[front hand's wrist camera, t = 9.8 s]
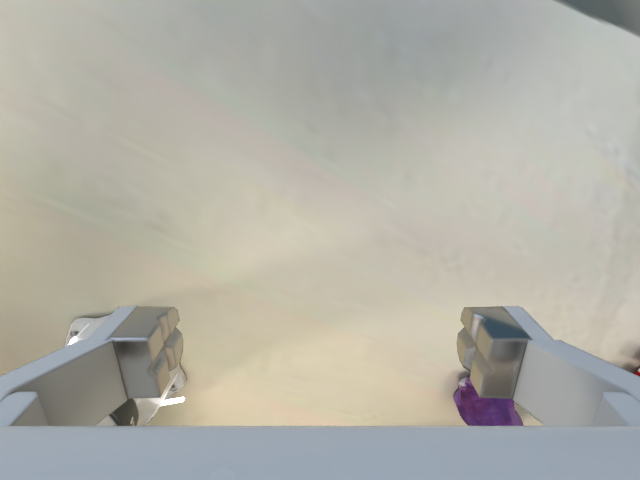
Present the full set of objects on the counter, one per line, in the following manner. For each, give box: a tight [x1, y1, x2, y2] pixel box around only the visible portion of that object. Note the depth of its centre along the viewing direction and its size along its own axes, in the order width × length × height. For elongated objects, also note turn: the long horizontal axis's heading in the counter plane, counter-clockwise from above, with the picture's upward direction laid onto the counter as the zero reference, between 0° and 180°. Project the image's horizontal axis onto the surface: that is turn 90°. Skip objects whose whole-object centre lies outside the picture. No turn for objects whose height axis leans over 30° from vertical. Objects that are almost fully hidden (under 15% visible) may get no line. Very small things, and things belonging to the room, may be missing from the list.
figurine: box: [453, 377, 523, 426], centre depth 51 cm, size 9×10×15 cm
